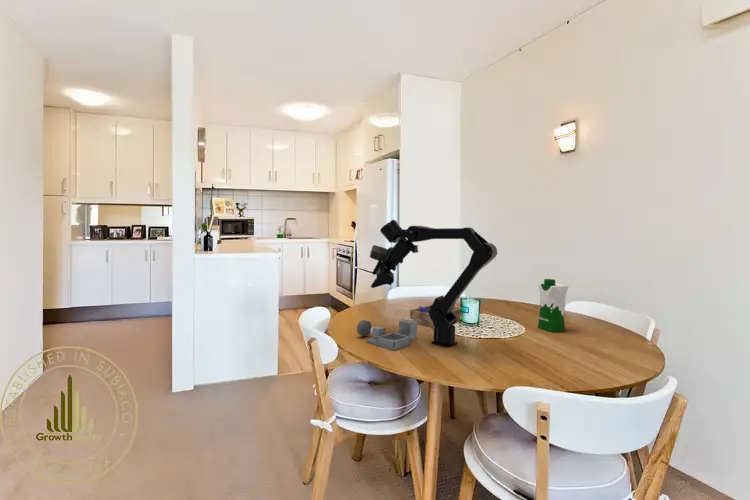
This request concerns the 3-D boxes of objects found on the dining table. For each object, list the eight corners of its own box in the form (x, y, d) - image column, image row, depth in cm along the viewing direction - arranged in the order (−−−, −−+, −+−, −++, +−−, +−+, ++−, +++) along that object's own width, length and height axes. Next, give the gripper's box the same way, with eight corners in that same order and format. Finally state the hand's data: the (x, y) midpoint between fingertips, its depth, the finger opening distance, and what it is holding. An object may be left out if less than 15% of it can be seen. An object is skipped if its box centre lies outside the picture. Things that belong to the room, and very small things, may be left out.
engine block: (416, 338, 144) (417, 319, 144) (409, 340, 141) (410, 321, 141) (405, 335, 148) (406, 317, 147) (398, 337, 145) (399, 318, 144)
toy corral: (461, 319, 172) (462, 308, 172) (435, 328, 158) (435, 315, 158) (437, 314, 181) (437, 303, 181) (410, 322, 167) (410, 310, 166)
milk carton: (534, 327, 162) (536, 278, 160) (551, 325, 165) (554, 277, 164) (551, 333, 154) (553, 281, 152) (568, 331, 157) (571, 280, 156)
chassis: (410, 345, 136) (410, 331, 135) (393, 350, 129) (394, 336, 129) (380, 336, 145) (381, 324, 145) (364, 341, 139) (364, 328, 138)
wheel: (371, 334, 146) (371, 319, 145) (360, 337, 142) (361, 322, 142) (366, 333, 148) (367, 318, 147) (356, 336, 144) (356, 321, 143)
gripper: (382, 228, 152) (357, 256, 158) (380, 252, 135) (352, 282, 141) (404, 245, 154) (379, 272, 161) (405, 270, 138) (377, 299, 144)
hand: (372, 280), depth 152 cm, fingers open, 9 cm apart
